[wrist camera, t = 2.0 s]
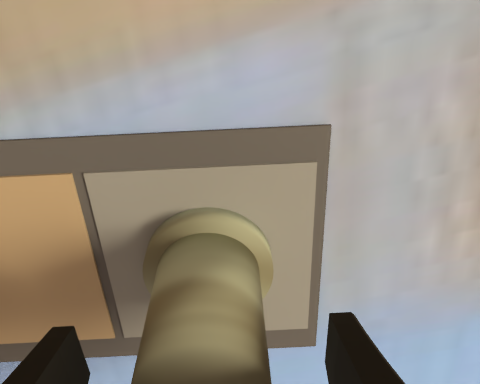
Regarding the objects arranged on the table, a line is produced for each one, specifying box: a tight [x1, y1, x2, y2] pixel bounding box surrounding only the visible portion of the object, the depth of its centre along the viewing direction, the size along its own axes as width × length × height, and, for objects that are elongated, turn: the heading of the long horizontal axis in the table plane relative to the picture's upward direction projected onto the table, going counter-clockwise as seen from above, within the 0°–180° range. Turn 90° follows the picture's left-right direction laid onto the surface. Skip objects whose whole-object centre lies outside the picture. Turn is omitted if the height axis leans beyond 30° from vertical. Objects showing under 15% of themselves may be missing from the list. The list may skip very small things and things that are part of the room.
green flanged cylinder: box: [131, 207, 274, 384], centre depth 13 cm, size 5×5×6 cm
